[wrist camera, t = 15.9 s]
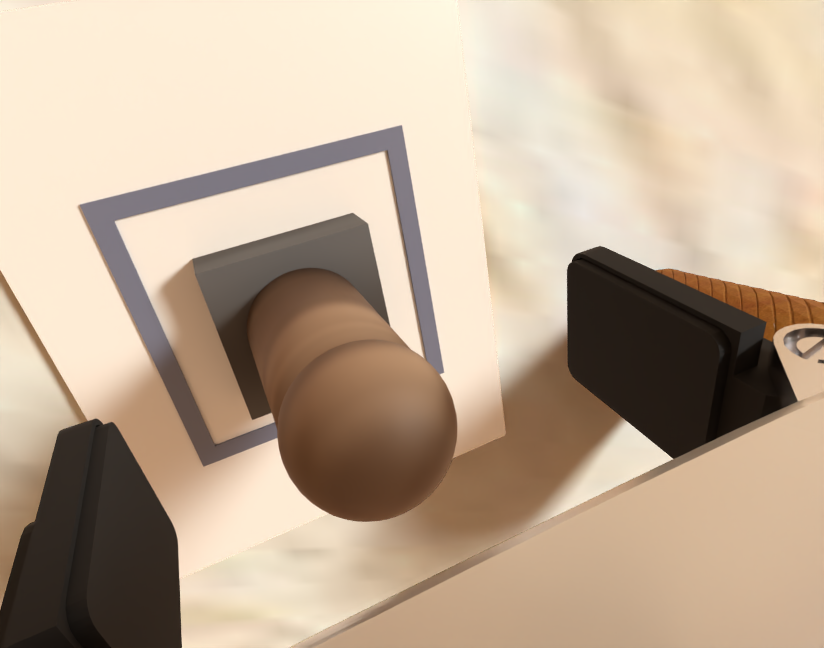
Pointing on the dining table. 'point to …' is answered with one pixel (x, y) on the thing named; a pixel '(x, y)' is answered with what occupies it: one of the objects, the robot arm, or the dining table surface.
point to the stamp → (331, 368)
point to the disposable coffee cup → (756, 301)
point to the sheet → (233, 216)
